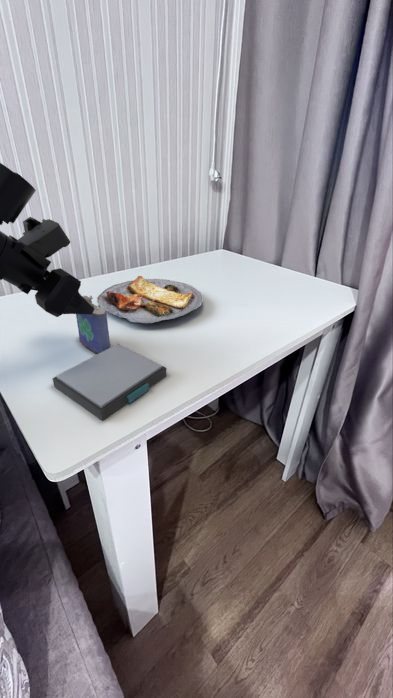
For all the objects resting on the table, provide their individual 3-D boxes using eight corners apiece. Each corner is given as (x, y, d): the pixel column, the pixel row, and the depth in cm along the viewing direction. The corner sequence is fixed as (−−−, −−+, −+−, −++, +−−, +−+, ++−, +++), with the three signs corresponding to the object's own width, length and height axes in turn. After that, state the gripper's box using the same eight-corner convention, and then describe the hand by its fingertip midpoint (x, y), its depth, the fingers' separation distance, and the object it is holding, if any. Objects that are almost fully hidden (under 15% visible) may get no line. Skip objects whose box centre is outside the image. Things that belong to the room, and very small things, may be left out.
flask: (114, 353, 63) (108, 301, 57) (100, 359, 61) (93, 306, 55) (88, 335, 68) (80, 286, 62) (75, 340, 66) (65, 290, 61)
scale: (104, 422, 48) (102, 410, 47) (54, 387, 54) (51, 375, 53) (168, 377, 57) (168, 366, 56) (119, 351, 64) (118, 341, 62)
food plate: (79, 305, 80) (77, 291, 78) (147, 279, 96) (146, 267, 94) (155, 340, 67) (155, 325, 65) (219, 304, 83) (220, 291, 81)
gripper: (53, 214, 41) (135, 280, 53) (3, 193, 52) (80, 251, 64) (2, 290, 40) (96, 338, 53) (-37, 252, 52) (48, 299, 64)
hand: (80, 302), depth 59 cm, fingers open, 9 cm apart
